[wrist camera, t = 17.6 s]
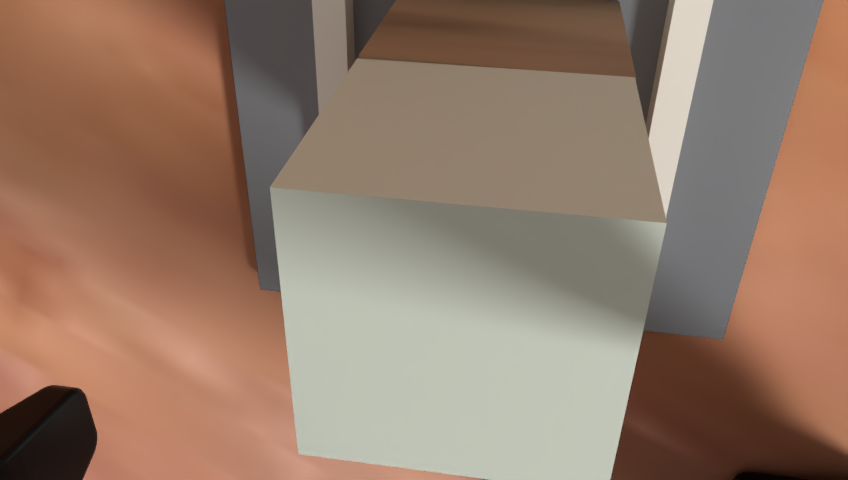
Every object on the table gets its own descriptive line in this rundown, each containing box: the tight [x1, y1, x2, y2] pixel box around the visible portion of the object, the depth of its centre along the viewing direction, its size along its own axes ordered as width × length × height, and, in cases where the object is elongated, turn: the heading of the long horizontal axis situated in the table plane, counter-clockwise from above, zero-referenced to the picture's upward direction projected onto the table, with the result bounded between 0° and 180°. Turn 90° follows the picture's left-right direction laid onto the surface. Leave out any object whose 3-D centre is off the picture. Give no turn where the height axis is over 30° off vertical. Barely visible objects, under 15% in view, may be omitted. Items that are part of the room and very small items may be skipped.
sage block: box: [270, 58, 667, 480], centre depth 13 cm, size 5×5×5 cm
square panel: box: [224, 0, 823, 339], centre depth 19 cm, size 14×14×1 cm
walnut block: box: [359, 0, 636, 80], centre depth 17 cm, size 5×5×5 cm
